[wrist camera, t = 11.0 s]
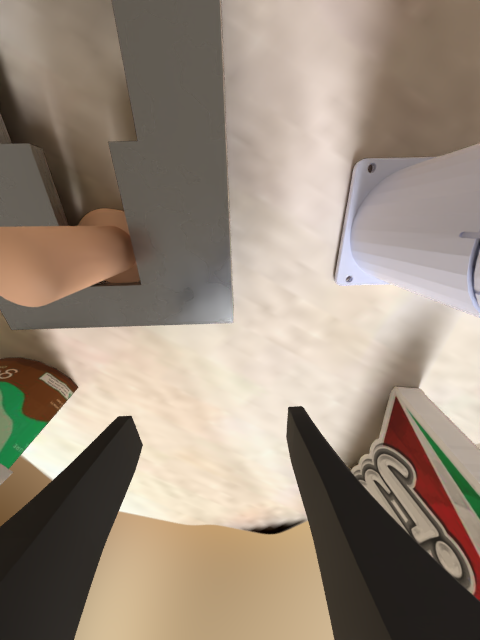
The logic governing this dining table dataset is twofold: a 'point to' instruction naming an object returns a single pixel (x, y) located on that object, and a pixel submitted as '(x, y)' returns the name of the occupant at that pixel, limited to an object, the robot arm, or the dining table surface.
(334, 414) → the dining table surface
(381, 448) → the decorative sign
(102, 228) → the peg
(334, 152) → the dining table surface
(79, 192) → the dining table surface
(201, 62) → the keyhole plate
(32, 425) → the food container
